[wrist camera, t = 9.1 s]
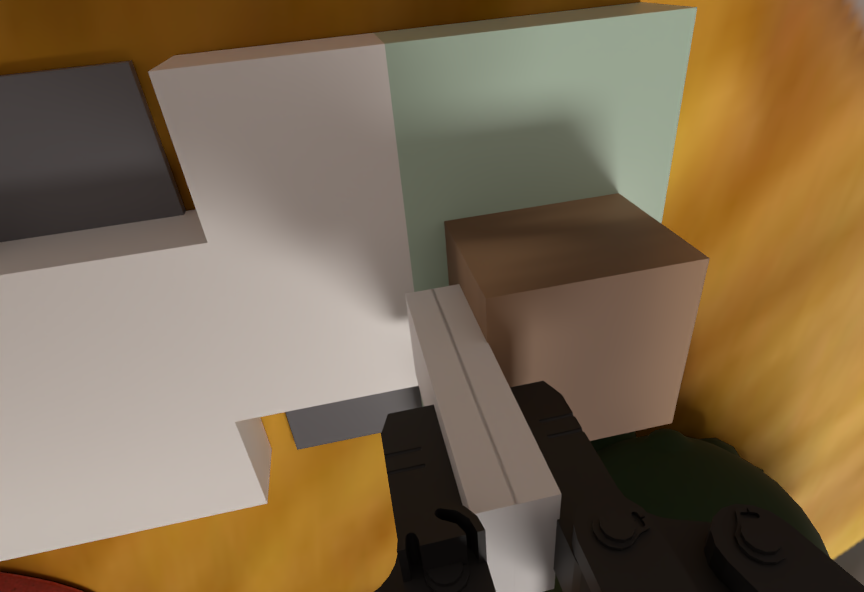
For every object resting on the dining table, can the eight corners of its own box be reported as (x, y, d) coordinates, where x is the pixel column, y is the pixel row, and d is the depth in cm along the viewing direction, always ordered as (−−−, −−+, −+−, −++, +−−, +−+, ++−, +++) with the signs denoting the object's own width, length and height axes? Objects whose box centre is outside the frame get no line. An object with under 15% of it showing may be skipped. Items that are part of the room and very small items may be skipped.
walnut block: (455, 365, 17) (491, 462, 13) (444, 220, 14) (485, 298, 11) (602, 336, 17) (672, 423, 14) (618, 193, 15) (709, 258, 11)
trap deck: (-111, 527, 19) (-163, 596, 17) (-524, 134, 11) (-712, 172, 9) (598, 382, 22) (628, 425, 20) (641, 1, 15) (697, 7, 12)
